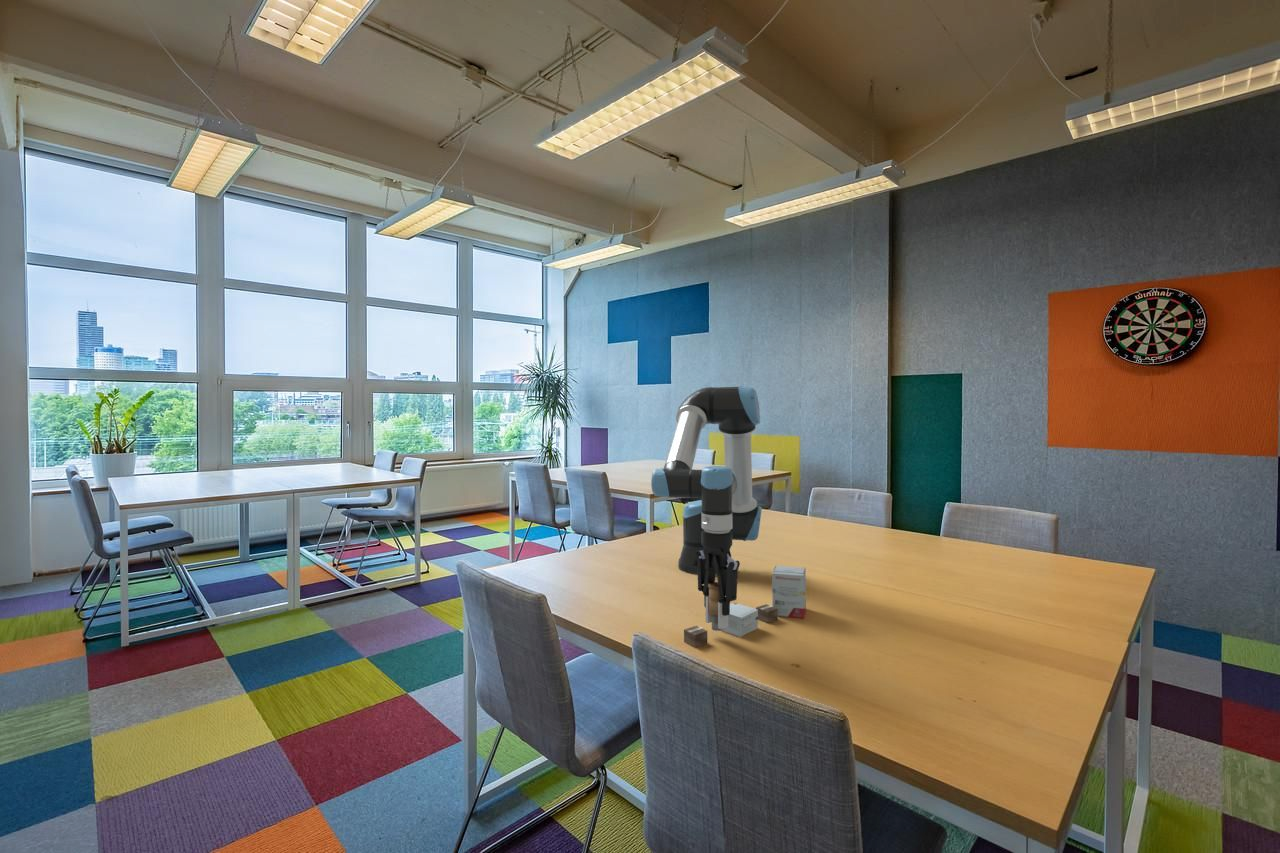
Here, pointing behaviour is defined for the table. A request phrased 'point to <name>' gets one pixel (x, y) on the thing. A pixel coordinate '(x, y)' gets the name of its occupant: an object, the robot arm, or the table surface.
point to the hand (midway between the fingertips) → (716, 624)
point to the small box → (741, 620)
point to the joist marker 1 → (695, 636)
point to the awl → (714, 603)
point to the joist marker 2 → (767, 613)
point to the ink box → (789, 591)
